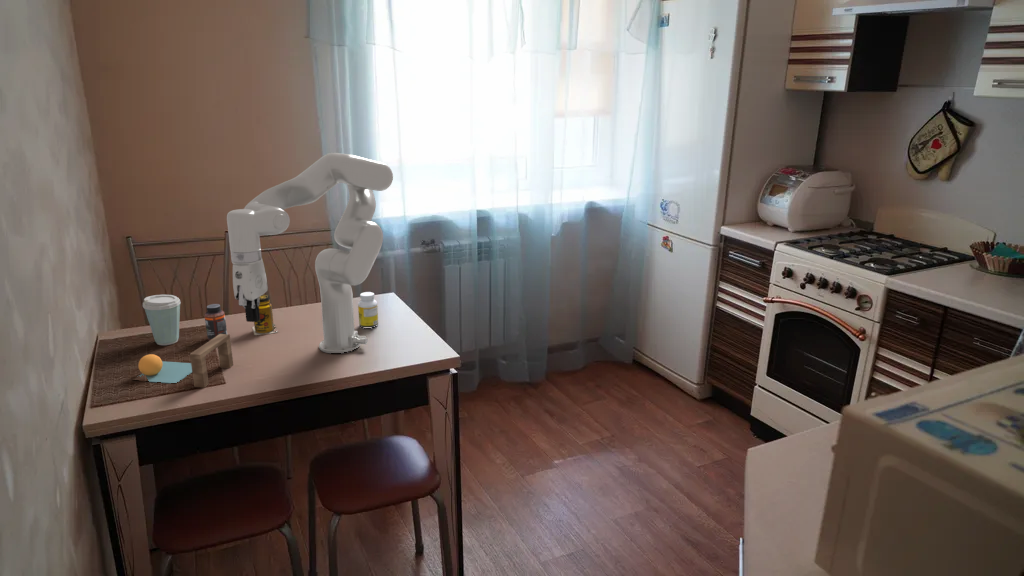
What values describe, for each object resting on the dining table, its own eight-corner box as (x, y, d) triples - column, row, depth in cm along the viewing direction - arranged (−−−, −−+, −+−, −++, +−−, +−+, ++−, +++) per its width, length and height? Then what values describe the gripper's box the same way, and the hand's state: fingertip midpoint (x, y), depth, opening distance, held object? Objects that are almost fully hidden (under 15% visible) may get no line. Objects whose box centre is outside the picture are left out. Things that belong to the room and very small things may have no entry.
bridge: (233, 365, 194) (229, 334, 191) (204, 387, 180) (200, 354, 177) (223, 364, 195) (219, 333, 192) (194, 386, 180) (189, 354, 177)
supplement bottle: (231, 336, 216) (227, 303, 213) (221, 342, 210) (217, 309, 207) (213, 335, 217) (209, 302, 213) (204, 341, 211) (199, 308, 208)
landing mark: (202, 364, 194) (202, 364, 194) (176, 383, 182) (175, 383, 182) (161, 361, 196) (161, 361, 196) (132, 380, 183) (132, 380, 183)
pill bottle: (363, 322, 230) (361, 290, 227) (381, 323, 229) (379, 291, 226) (356, 328, 224) (354, 296, 221) (374, 330, 223) (373, 297, 220)
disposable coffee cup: (176, 333, 218) (170, 289, 213) (192, 341, 211) (186, 296, 206) (143, 342, 210) (135, 297, 205) (158, 351, 203) (150, 305, 199)
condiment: (254, 335, 217) (250, 301, 213) (252, 327, 224) (248, 293, 220) (277, 332, 220) (274, 298, 216) (274, 324, 227) (271, 291, 223)
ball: (147, 370, 190) (167, 372, 190) (134, 377, 184) (155, 379, 184) (146, 350, 189) (166, 352, 188) (132, 357, 183) (154, 359, 183)
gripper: (245, 264, 169) (252, 331, 174) (272, 250, 183) (278, 312, 188) (217, 262, 169) (226, 329, 175) (247, 248, 184) (253, 311, 189)
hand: (253, 320), depth 182 cm, fingers closed
